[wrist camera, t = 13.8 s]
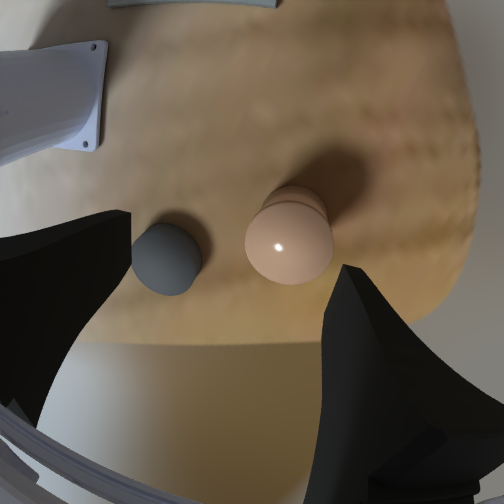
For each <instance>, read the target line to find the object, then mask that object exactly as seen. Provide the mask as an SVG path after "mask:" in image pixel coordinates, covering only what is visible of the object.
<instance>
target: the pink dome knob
mask: <svg viewBox="0 0 504 504" xmlns="http://www.w3.org/2000/svg"><path fill="white" fill-rule="evenodd" d="M245 249H246V253H247V256H248V259H249V261H250V262H251V264H252V265H253V267H254V268H255V269H256V270H257V271H258V272H259V273H260V274H261V275H263V276H264V277H266V278H268V279H270V280H272V281H274V282H278V283H282V284H301V283H305V282H308V281H310V280H312V279H314V278H316V277H317V276H319V275H320V274H321V273H322V272H323V271H324V270H325V269H326V268H327V267H328V265H329V263H330V261H331V259H332V256H333V252H334V239H333V233H332V230H331V227H330V225H329V223H328V216H327V210H326V207H325V205H324V203H323V201H322V200H321V198H320V197H319V196H318V195H317V194H316V193H314V192H313V191H311V190H310V189H307V188H305V187H302V186H293V185H292V186H285V187H281V188H279V189H277V190H275V191H274V192H272V193H271V194H270V195H269V196H268V197H267V198H266V200H265V201H264V203H263V205H262V208H261V210H260V211H259V212H258V213H257V214H256V215H255V216H254V218H253V219H252V221H251V223H250V225H249V227H248V230H247V232H246V236H245Z"/></svg>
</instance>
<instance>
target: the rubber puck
mask: <svg viewBox="0 0 504 504" xmlns="http://www.w3.org/2000/svg"><path fill="white" fill-rule="evenodd" d="M201 265H202V256H201V252H200V249H199V247H198V245H197V243H196V242H195V240H194V239H193V238H192V237H191V235H189V234H188V233H187V232H186V231H185V230H183V229H181V228H179V227H177V226H175V225H171V224H157V225H154V226H152V227H150V228H149V229H147V230H146V231H145V232H144V233H143V234H142V235H141V236H140V237H139V238H138V239H137V240H136V241H135V242H134V243H133V245H132V264H131V266H132V268H133V271H134V273H135V274H136V276H137V277H138V279H139V280H140V281H141V282H142V283H143V284H144V285H145V286H146V287H148V288H149V289H151V290H152V291H154V292H156V293H159V294H162V295H168V296H173V295H179V294H182V293H184V292H185V291H187V290H188V289H189V288H190V286H191V285H192V283H193V282H194V280H195V278H196V277H197V275H198V273H199V271H200V269H201Z"/></svg>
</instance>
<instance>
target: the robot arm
mask: <svg viewBox="0 0 504 504" xmlns="http://www.w3.org/2000/svg"><path fill="white" fill-rule="evenodd" d="M95 45H97V47H96V49H95V50H94V47H95ZM107 50H108V43H107V41H105V40H96V41H87V42H79V43H71V44H65V45H59V46H53V47H47V48H42V49H37V50H16V51H2V52H0V167H1V166H3V165H6V164H8V163H10V162H13V161H15V160H18V159H20V158H23V157H25V156H28V155H30V154H33V153H36V152H38V151H41V150H44V149H46V148H49V147H55V148H64V149H73V150H82V151H90V152H92V151H95V150H97V149H98V147H99V133H100V115H101V102H102V91H103V81H104V72H105V64H106V57H107ZM86 141H87V142H88V146H87V145H86ZM131 264H132V246H131V213H130V212H125V211H121V210H109V211H104V212H100V213H96V214H92V215H89V216H85V217H82V218H79V219H75V220H72V221H69V222H65V223H62V224H58V225H55V226H51V227H48V228H44V229H41V230H37V231H33V232H29V233H24V234H20V235H15V236H10V237H3V238H0V435H2V436H3V437H4V438H6V439H7V440H8V441H10V442H11V443H12V444H14V445H15V446H16V447H18V448H19V449H20V450H22V451H23V452H25V453H26V454H27V455H29V456H30V457H32V458H33V459H35V460H36V461H38V462H39V463H41V464H42V465H44V466H46V467H47V468H49V469H51V470H52V471H54V472H55V473H57V474H59V475H60V476H62V477H64V478H65V479H67V480H69V481H71V482H72V483H74V484H76V485H78V486H80V487H82V488H84V489H86V490H88V491H89V492H91V493H93V494H95V495H97V496H99V497H102V498H104V499H106V500H108V501H110V502H112V503H114V504H204V503H200V502H197V501H193V500H190V499H186V498H183V497H180V496H177V495H174V494H171V493H168V492H165V491H162V490H159V489H156V488H153V487H151V486H148V485H145V484H143V483H140V482H138V481H135V480H133V479H130V478H128V477H125V476H123V475H121V474H119V473H117V472H114V471H112V470H110V469H108V468H106V467H103V466H101V465H99V464H97V463H95V462H93V461H91V460H89V459H87V458H85V457H83V456H81V455H79V454H78V453H76V452H74V451H72V450H70V449H69V448H67V447H65V446H63V445H61V444H60V443H58V442H56V441H55V440H53V439H51V438H50V437H48V436H46V435H45V434H43V433H42V432H40V431H38V430H37V429H36V427H37V424H38V420H39V417H40V414H41V411H42V408H43V406H44V403H45V400H46V397H47V395H48V393H49V390H50V388H51V386H52V383H53V381H54V379H55V376H56V374H57V372H58V370H59V368H60V366H61V364H62V362H63V361H64V359H65V357H66V355H67V353H68V351H69V350H70V348H71V346H72V344H73V343H74V341H75V340H76V338H77V336H78V335H79V333H80V332H81V331H82V329H83V328H84V326H85V325H86V324H87V323H88V321H89V320H90V319H91V318H92V316H93V315H94V314H95V313H96V312H97V310H98V309H99V308H100V307H101V305H102V304H103V303H104V302H105V301H106V299H107V298H108V297H109V296H110V295H111V293H112V292H113V291H114V290H115V289H116V287H117V286H118V285H119V283H120V282H121V280H122V279H123V277H124V276H125V274H126V272H127V271H128V269H129V267H130V266H131ZM321 344H322V345H321V346H322V408H321V416H320V424H319V431H318V437H317V443H316V449H315V454H314V460H313V465H312V470H311V474H310V478H309V483H308V487H307V491H306V495H305V499H304V502H303V504H474V497H473V495H476V494H478V493H479V492H480V483H479V480H480V479H481V478H483V477H484V476H486V475H487V474H489V473H490V472H492V471H493V470H495V469H496V468H497V467H499V466H500V465H501V464H503V463H504V404H502V403H500V402H499V401H497V400H495V399H494V398H492V397H490V396H489V395H487V394H485V393H484V392H482V391H481V390H480V389H478V388H477V387H475V386H474V385H473V384H471V383H470V382H468V381H467V380H466V379H464V378H463V377H462V376H460V375H459V374H458V373H457V372H455V371H454V370H453V369H452V368H451V367H449V366H448V365H447V364H446V363H445V362H444V361H442V360H441V359H440V358H439V357H438V356H437V355H436V354H435V353H433V352H432V351H431V350H430V349H429V348H428V347H427V346H426V345H425V344H424V343H423V342H422V341H421V340H420V339H419V338H418V337H417V336H416V335H415V333H413V331H412V330H411V329H410V328H409V327H408V326H407V324H406V323H405V322H404V321H403V320H402V319H401V318H400V316H399V315H398V314H397V313H396V312H395V310H394V309H393V308H392V307H391V305H390V304H389V303H388V301H387V300H386V299H385V298H384V296H383V295H382V294H381V292H380V291H379V290H378V289H377V287H376V286H375V285H374V283H373V282H372V281H371V279H370V278H369V277H368V276H367V275H366V273H365V272H364V271H363V270H362V269H361V268H357V267H353V266H349V265H345V264H343V266H342V268H341V271H340V274H339V276H338V279H337V282H336V284H335V287H334V289H333V292H332V295H331V297H330V300H329V302H328V305H327V307H326V310H325V312H324V319H323V328H322V338H321ZM38 479H39V475H38V473H37V472H35V471H34V470H33V469H32V468H30V467H29V466H28V465H27V464H26V463H24V462H23V461H22V460H21V459H20V458H19V457H18V456H17V455H16V454H15V453H14V452H13V451H12V450H11V449H10V448H9V446H8V445H7V444H6V443H5V442H4V441H3V440H2V439H0V504H68V503H67V502H65V501H63V500H61V499H60V498H58V497H56V496H55V495H53V494H52V493H50V492H48V491H47V490H45V489H44V488H42V487H41V486H39V485H38V484H36V482H37V481H38ZM477 504H504V495H502V496H499V497H495V498H491V499H488V500H485V501H482V502H479V503H477Z"/></svg>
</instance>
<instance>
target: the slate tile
mask: <svg viewBox="0 0 504 504" xmlns="http://www.w3.org/2000/svg"><path fill="white" fill-rule="evenodd" d="M277 2H278V0H108V2H107V7H110V8H115V7H123V6H132V5H144V4H159V3H222V4H238V5H249V6H259V7H267V8H275V9H276V7H277Z"/></svg>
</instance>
